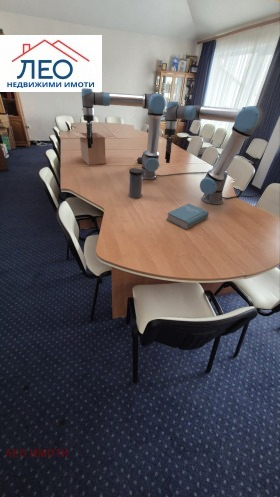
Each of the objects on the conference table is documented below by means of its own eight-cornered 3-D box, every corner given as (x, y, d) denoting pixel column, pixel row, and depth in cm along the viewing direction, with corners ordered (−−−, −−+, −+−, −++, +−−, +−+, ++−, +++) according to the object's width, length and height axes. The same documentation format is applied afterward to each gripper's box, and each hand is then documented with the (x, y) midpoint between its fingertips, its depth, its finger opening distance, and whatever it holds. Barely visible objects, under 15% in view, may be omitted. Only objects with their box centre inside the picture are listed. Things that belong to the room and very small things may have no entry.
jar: (129, 198, 166) (130, 172, 154) (128, 193, 173) (129, 168, 162) (141, 198, 166) (143, 173, 155) (140, 193, 174) (142, 169, 163)
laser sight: (156, 166, 235) (157, 156, 229) (136, 164, 237) (136, 154, 231) (157, 164, 242) (158, 154, 236) (138, 161, 245) (138, 152, 239)
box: (116, 165, 229) (116, 136, 213) (83, 168, 214) (80, 137, 198) (102, 154, 259) (101, 128, 243) (71, 156, 244) (68, 129, 228)
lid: (129, 175, 155) (129, 172, 154) (128, 170, 163) (128, 167, 162) (143, 175, 156) (143, 172, 155) (142, 171, 164) (142, 168, 163)
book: (187, 209, 155) (188, 203, 152) (207, 218, 146) (209, 211, 143) (166, 219, 142) (167, 212, 139) (187, 230, 133) (188, 222, 130)
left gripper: (84, 112, 170) (87, 142, 182) (81, 116, 150) (84, 149, 163) (94, 112, 171) (96, 142, 183) (92, 116, 151) (94, 149, 163)
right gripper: (164, 126, 162) (161, 157, 173) (165, 129, 141) (162, 164, 152) (174, 127, 162) (171, 158, 173) (177, 130, 141) (173, 165, 152)
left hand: (90, 146), depth 173 cm, fingers open, 13 cm apart
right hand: (167, 161), depth 163 cm, fingers open, 13 cm apart
